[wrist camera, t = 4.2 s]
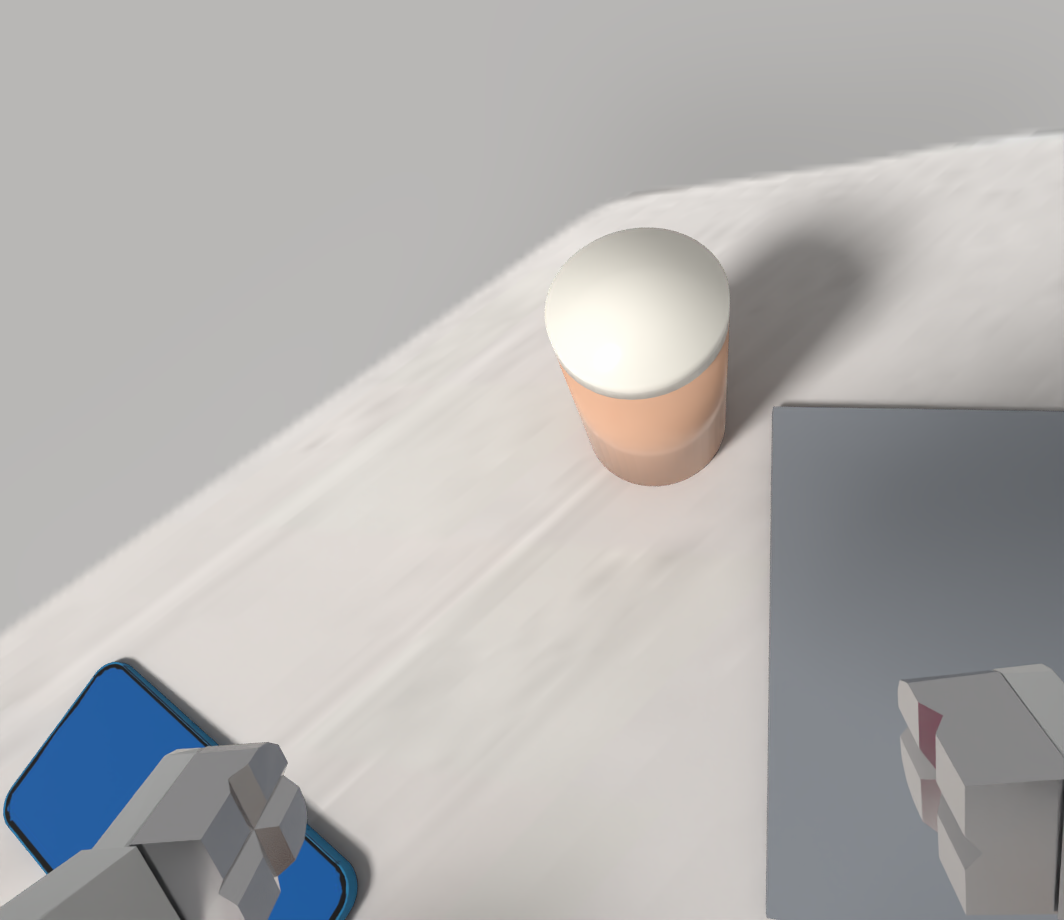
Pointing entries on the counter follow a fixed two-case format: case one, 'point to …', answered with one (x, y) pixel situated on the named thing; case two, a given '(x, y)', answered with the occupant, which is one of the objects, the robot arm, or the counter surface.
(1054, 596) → the slate mat
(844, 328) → the counter surface
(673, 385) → the terracotta jar
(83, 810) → the smartphone
